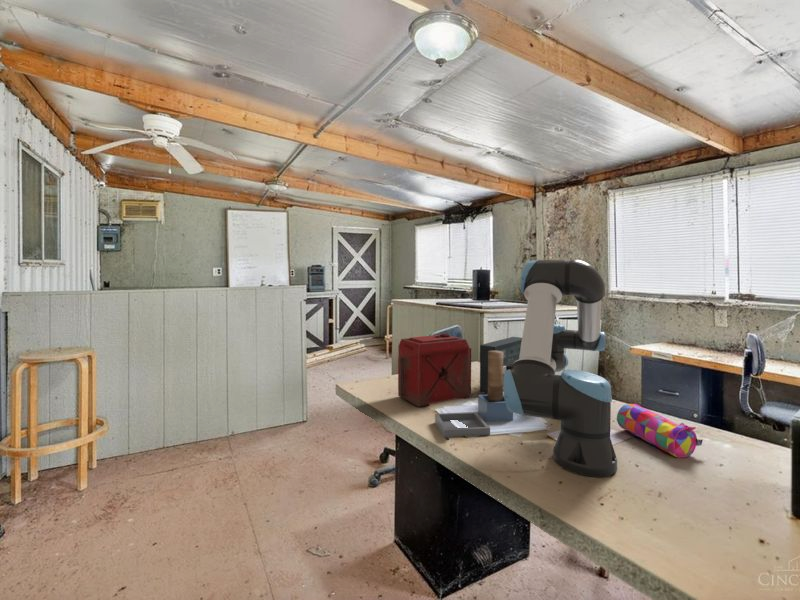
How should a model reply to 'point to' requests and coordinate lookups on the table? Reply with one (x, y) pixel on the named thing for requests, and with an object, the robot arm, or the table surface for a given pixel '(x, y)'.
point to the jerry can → (434, 369)
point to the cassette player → (510, 355)
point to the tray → (468, 418)
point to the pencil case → (658, 430)
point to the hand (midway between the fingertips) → (511, 376)
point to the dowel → (495, 376)
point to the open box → (493, 409)
